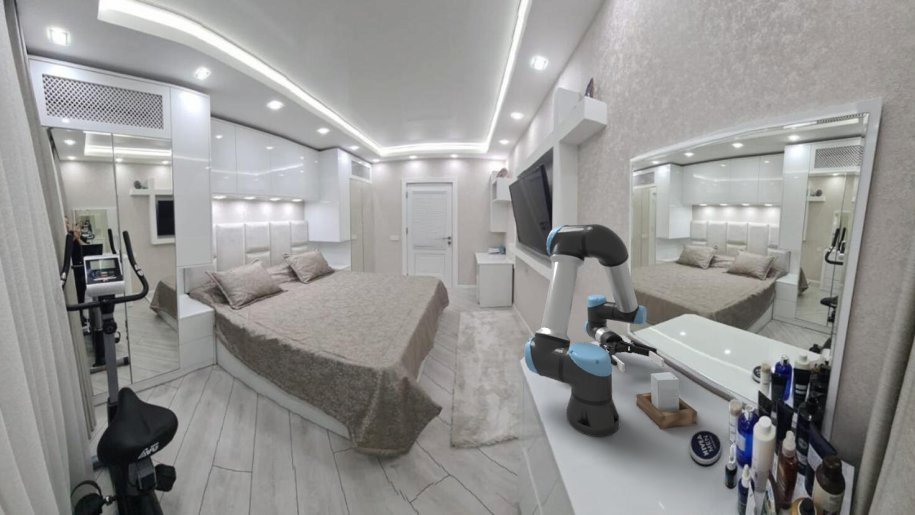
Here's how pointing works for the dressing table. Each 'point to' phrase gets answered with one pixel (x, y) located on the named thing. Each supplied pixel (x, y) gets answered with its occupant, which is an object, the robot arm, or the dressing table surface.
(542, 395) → the dressing table surface
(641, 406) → the walnut square tray
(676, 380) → the skincare box
